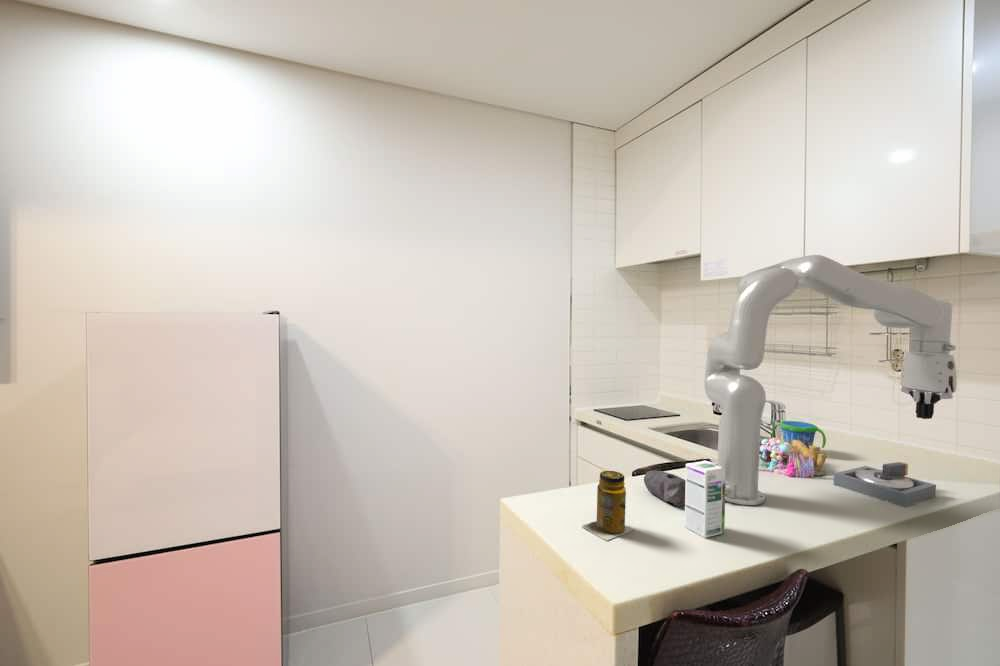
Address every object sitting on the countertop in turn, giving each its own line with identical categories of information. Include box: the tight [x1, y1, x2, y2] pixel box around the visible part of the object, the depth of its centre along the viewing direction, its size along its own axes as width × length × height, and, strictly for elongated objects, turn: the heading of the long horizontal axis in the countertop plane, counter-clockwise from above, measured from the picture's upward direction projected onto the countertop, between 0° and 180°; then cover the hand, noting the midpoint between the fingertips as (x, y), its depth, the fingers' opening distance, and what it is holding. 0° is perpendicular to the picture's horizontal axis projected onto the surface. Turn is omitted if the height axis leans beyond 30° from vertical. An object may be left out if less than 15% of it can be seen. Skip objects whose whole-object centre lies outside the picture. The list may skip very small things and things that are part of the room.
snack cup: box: [771, 420, 827, 449], centre depth 155 cm, size 16×10×10 cm
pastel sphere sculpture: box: [759, 437, 827, 479], centre depth 142 cm, size 25×24×9 cm
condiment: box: [581, 470, 634, 542], centre depth 97 cm, size 7×8×12 cm
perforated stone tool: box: [643, 469, 686, 507], centre depth 114 cm, size 15×5×7 cm, turn 22°
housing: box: [833, 465, 937, 508], centre depth 122 cm, size 16×16×3 cm
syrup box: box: [684, 460, 726, 539], centre depth 97 cm, size 6×6×14 cm
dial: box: [855, 461, 914, 491], centre depth 122 cm, size 15×12×5 cm
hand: (924, 417), depth 117 cm, fingers closed
